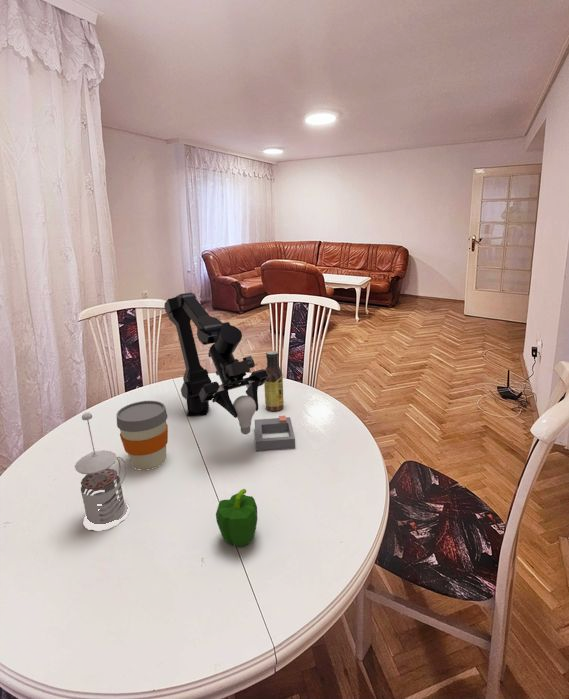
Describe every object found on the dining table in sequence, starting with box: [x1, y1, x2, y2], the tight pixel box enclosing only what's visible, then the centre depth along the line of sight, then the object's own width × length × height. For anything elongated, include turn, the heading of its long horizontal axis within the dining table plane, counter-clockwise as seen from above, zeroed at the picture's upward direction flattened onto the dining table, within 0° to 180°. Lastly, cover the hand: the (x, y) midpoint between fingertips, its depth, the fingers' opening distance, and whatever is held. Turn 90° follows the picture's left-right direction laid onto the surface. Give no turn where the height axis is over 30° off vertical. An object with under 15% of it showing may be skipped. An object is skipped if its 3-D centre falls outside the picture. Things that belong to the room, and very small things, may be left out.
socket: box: [254, 415, 296, 452], centre depth 117 cm, size 11×13×4 cm
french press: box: [74, 411, 128, 524], centre depth 85 cm, size 10×12×25 cm
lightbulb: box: [232, 395, 257, 435], centre depth 105 cm, size 6×6×11 cm
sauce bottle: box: [263, 350, 284, 412], centre depth 134 cm, size 7×6×20 cm
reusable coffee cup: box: [116, 400, 169, 471], centre depth 106 cm, size 13×13×15 cm
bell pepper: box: [215, 488, 258, 548], centre depth 79 cm, size 8×8×10 cm
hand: (247, 413), depth 104 cm, fingers closed on lightbulb, 6 cm apart
